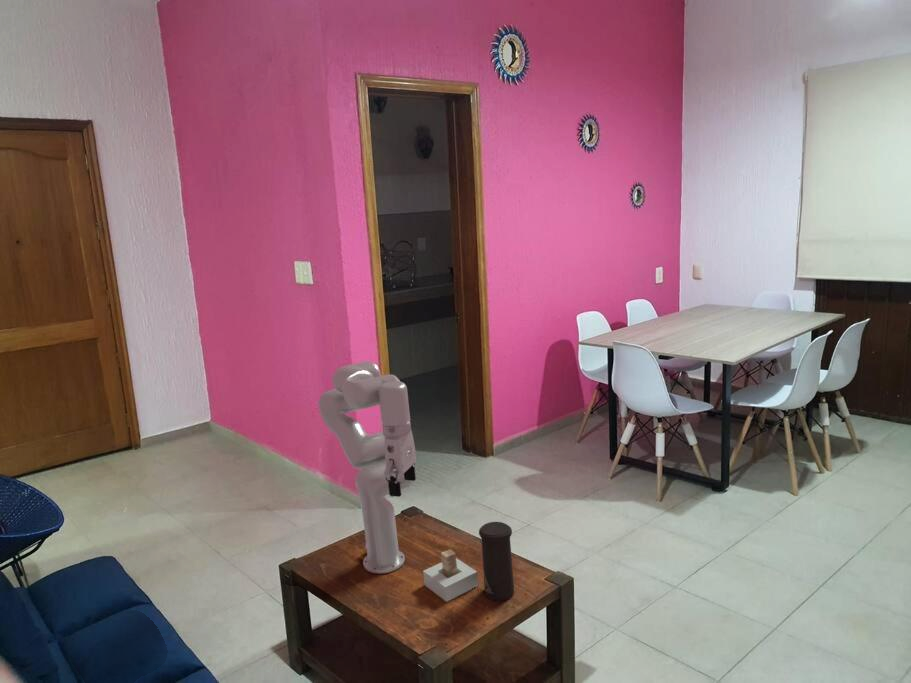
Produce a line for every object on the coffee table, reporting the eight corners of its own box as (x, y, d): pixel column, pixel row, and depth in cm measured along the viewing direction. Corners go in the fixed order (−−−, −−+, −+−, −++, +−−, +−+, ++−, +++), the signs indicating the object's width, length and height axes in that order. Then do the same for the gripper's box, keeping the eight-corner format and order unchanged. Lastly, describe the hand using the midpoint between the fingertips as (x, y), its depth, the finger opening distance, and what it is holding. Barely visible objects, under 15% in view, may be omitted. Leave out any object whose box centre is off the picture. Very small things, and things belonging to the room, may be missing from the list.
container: (495, 579, 196) (491, 516, 191) (521, 589, 190) (517, 524, 185) (477, 595, 189) (472, 529, 185) (503, 605, 183) (499, 538, 179)
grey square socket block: (424, 584, 196) (423, 570, 195) (455, 570, 202) (454, 556, 201) (446, 601, 187) (445, 587, 186) (478, 585, 193) (477, 571, 192)
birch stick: (449, 585, 192) (446, 557, 190) (443, 581, 195) (441, 552, 193) (458, 582, 194) (455, 553, 192) (452, 577, 196) (450, 549, 194)
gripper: (396, 441, 172) (402, 503, 176) (422, 417, 187) (427, 475, 191) (369, 439, 174) (376, 501, 178) (397, 416, 190) (403, 473, 194)
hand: (403, 487), depth 185 cm, fingers open, 9 cm apart
